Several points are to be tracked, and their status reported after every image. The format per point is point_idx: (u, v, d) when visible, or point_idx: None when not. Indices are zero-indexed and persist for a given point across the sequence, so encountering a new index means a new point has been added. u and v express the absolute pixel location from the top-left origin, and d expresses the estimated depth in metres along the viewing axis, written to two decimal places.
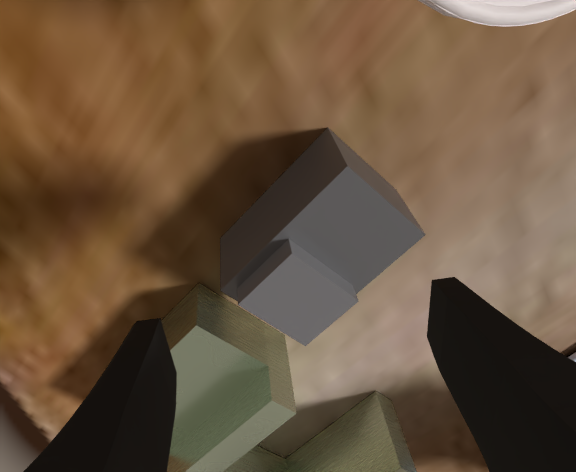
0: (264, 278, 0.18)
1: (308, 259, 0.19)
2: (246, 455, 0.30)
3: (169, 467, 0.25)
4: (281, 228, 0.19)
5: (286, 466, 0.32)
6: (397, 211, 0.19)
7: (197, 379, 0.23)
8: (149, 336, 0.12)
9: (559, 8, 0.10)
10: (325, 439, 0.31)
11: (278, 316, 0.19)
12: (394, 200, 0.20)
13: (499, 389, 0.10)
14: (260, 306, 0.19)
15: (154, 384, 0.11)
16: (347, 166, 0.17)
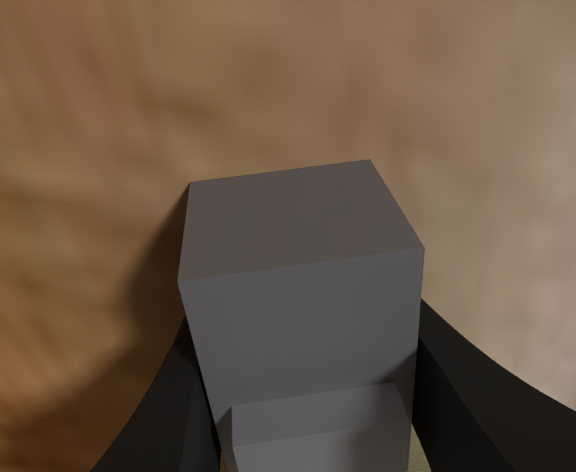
0: None
1: (275, 422, 0.10)
2: None
3: None
4: (211, 400, 0.11)
5: None
6: (333, 261, 0.09)
7: None
8: None
9: None
10: None
11: None
12: (338, 223, 0.10)
13: (437, 398, 0.10)
14: None
15: None
16: (179, 281, 0.09)
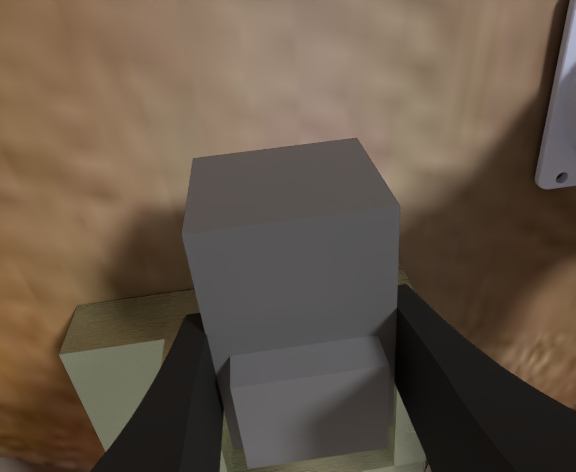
0: (239, 428, 0.12)
1: (269, 368, 0.11)
2: None
3: None
4: None
5: None
6: (320, 217, 0.10)
7: (129, 391, 0.21)
8: (203, 328, 0.12)
9: None
10: None
11: (310, 447, 0.12)
12: (325, 188, 0.11)
13: (437, 398, 0.10)
14: (275, 453, 0.12)
15: (209, 376, 0.11)
16: (183, 234, 0.10)
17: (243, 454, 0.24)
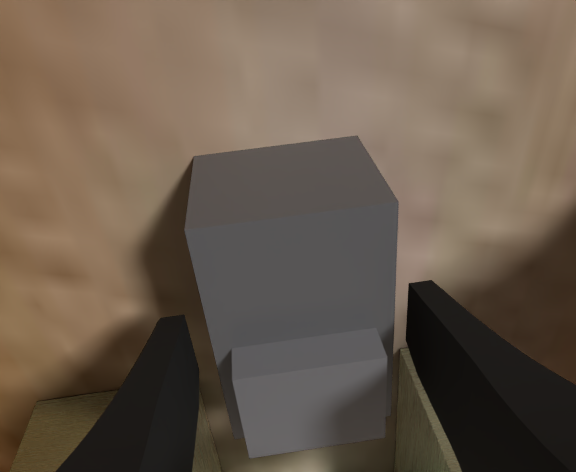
0: (241, 419, 0.12)
1: (270, 360, 0.12)
2: None
3: None
4: (212, 344, 0.12)
5: None
6: (320, 213, 0.10)
7: None
8: (175, 332, 0.12)
9: None
10: (401, 439, 0.20)
11: (310, 437, 0.13)
12: (325, 184, 0.11)
13: (470, 393, 0.10)
14: (275, 443, 0.13)
15: (181, 380, 0.11)
16: (185, 230, 0.10)
17: None
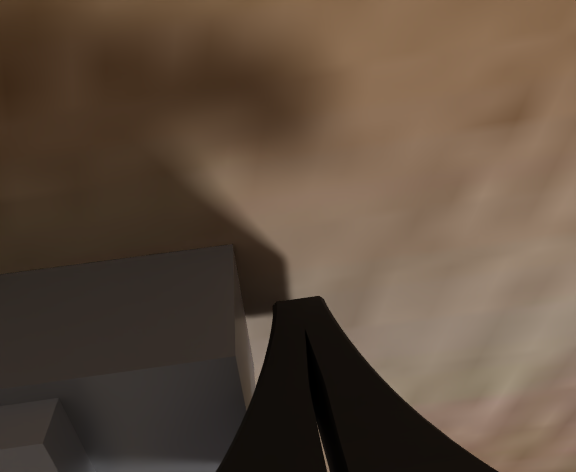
0: None
1: (66, 453, 0.10)
2: None
3: None
4: (56, 375, 0.09)
5: None
6: None
7: None
8: (299, 315, 0.12)
9: None
10: None
11: None
12: None
13: (327, 415, 0.10)
14: None
15: (307, 362, 0.12)
16: (234, 356, 0.10)
17: None
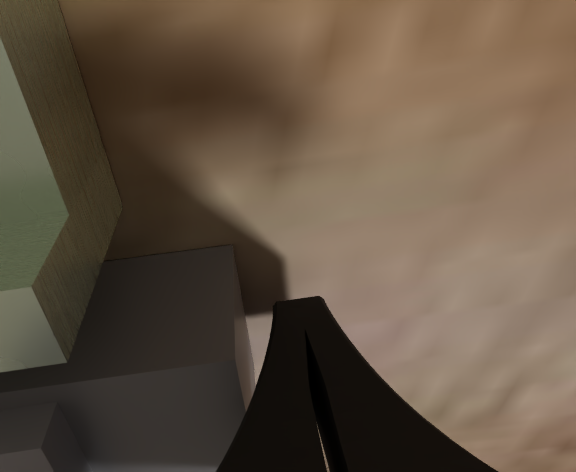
0: None
1: (64, 458, 0.10)
2: None
3: None
4: (54, 378, 0.09)
5: None
6: None
7: None
8: (299, 315, 0.12)
9: None
10: None
11: None
12: None
13: (327, 415, 0.10)
14: None
15: (307, 362, 0.12)
16: (233, 359, 0.09)
17: None
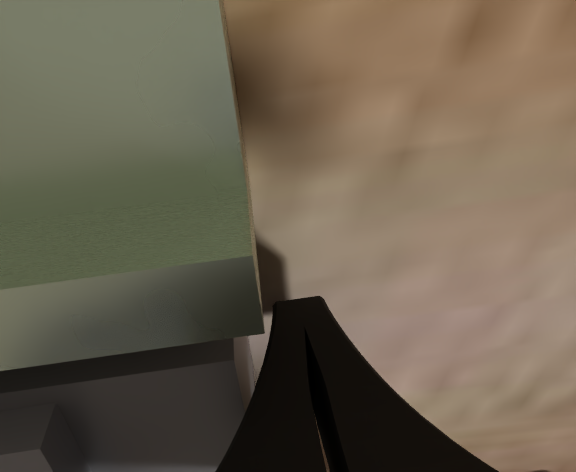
0: None
1: (63, 458, 0.10)
2: None
3: None
4: (54, 379, 0.09)
5: None
6: None
7: (52, 89, 0.07)
8: (299, 315, 0.12)
9: None
10: None
11: None
12: None
13: (327, 415, 0.10)
14: None
15: (307, 362, 0.12)
16: (232, 360, 0.09)
17: None
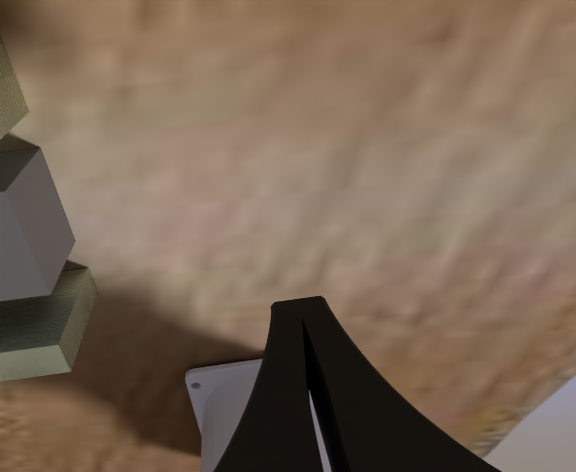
0: None
1: None
2: None
3: None
4: None
5: None
6: (33, 259, 0.18)
7: None
8: (297, 315, 0.12)
9: None
10: None
11: None
12: (47, 248, 0.19)
13: (329, 415, 0.10)
14: None
15: None
16: (5, 191, 0.17)
17: None
